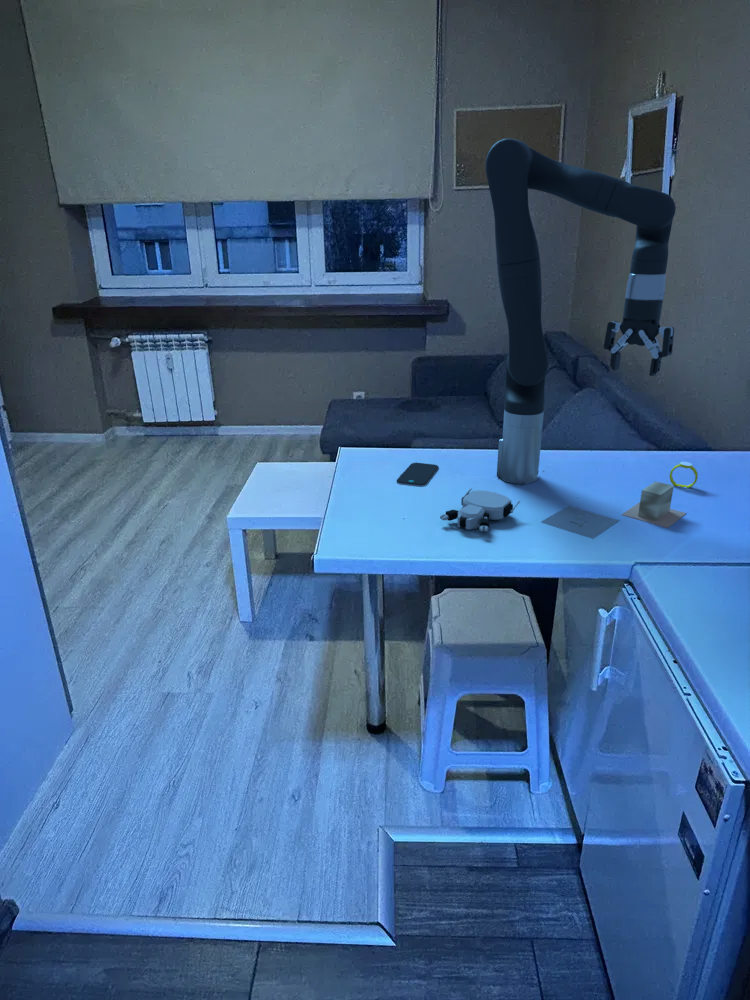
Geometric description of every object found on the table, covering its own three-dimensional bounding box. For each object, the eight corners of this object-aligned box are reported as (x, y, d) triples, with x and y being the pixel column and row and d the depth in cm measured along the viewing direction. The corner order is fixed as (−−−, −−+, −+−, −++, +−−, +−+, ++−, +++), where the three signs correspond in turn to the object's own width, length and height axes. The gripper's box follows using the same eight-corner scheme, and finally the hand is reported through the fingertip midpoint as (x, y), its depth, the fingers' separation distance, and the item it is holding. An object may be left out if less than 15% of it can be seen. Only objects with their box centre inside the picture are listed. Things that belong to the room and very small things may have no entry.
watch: (695, 488, 163) (701, 464, 160) (693, 491, 161) (699, 468, 158) (668, 481, 166) (674, 459, 163) (666, 485, 163) (672, 462, 161)
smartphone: (394, 481, 167) (412, 461, 180) (394, 484, 167) (412, 465, 180) (424, 484, 164) (440, 464, 177) (424, 488, 164) (440, 468, 178)
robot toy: (487, 544, 138) (521, 515, 148) (487, 524, 136) (521, 496, 146) (436, 529, 144) (471, 502, 155) (435, 510, 142) (471, 484, 153)
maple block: (637, 516, 146) (641, 490, 144) (651, 506, 151) (655, 481, 149) (656, 521, 144) (660, 494, 142) (669, 511, 149) (673, 485, 146)
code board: (540, 522, 144) (540, 521, 144) (568, 506, 153) (568, 505, 152) (593, 539, 137) (593, 538, 137) (619, 521, 145) (619, 520, 145)
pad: (621, 515, 148) (621, 514, 147) (641, 502, 154) (641, 501, 154) (667, 528, 141) (667, 527, 141) (686, 514, 148) (686, 513, 148)
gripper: (604, 295, 146) (595, 370, 152) (671, 300, 137) (658, 380, 143) (620, 292, 151) (610, 365, 157) (685, 297, 142) (673, 374, 148)
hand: (633, 372), depth 150 cm, fingers open, 8 cm apart
